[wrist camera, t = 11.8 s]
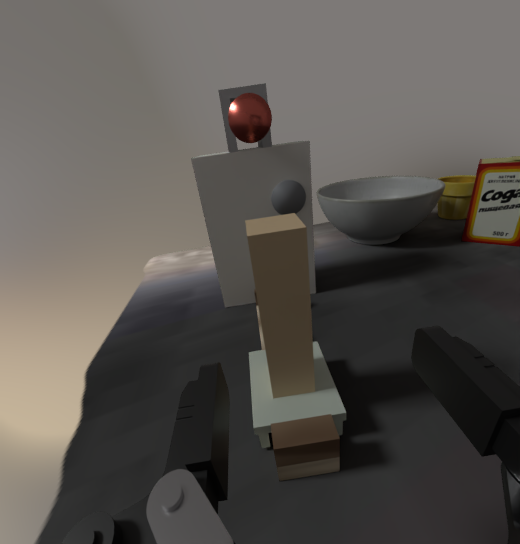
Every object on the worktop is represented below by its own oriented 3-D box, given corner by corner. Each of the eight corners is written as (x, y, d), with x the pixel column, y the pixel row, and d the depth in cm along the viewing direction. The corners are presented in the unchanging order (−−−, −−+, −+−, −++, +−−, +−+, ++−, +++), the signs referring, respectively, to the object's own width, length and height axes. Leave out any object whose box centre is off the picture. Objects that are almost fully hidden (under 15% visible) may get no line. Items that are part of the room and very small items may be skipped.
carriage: (252, 371, 32) (221, 216, 23) (317, 360, 32) (311, 203, 23) (258, 448, 24) (214, 255, 15) (345, 434, 24) (350, 234, 15)
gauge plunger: (233, 145, 37) (227, 109, 35) (263, 140, 37) (259, 104, 35) (232, 145, 28) (224, 96, 26) (273, 139, 28) (269, 89, 26)
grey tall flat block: (226, 285, 53) (187, 105, 39) (305, 273, 53) (293, 89, 39) (225, 309, 45) (175, 95, 31) (316, 295, 45) (308, 76, 32)
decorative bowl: (440, 222, 68) (448, 173, 63) (430, 265, 49) (441, 200, 44) (338, 218, 83) (338, 178, 78) (300, 250, 64) (297, 200, 59)
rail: (257, 309, 44) (253, 286, 42) (286, 304, 44) (284, 281, 42) (279, 481, 21) (273, 449, 20) (339, 470, 22) (339, 438, 20)
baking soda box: (461, 241, 57) (479, 161, 50) (464, 231, 61) (480, 157, 54) (521, 246, 51) (551, 157, 44) (519, 235, 56) (546, 153, 48)
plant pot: (487, 216, 68) (498, 176, 63) (456, 224, 65) (465, 184, 61) (449, 209, 77) (456, 173, 72) (421, 216, 74) (426, 180, 70)
